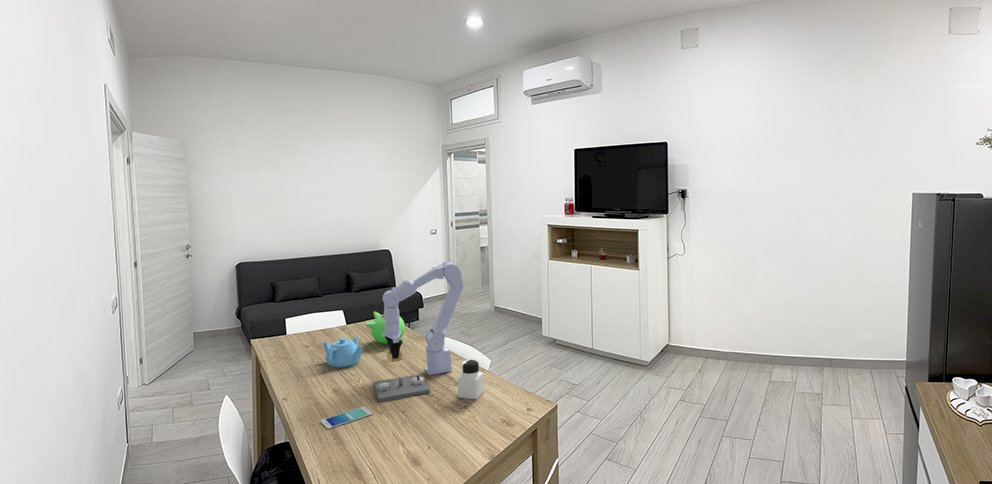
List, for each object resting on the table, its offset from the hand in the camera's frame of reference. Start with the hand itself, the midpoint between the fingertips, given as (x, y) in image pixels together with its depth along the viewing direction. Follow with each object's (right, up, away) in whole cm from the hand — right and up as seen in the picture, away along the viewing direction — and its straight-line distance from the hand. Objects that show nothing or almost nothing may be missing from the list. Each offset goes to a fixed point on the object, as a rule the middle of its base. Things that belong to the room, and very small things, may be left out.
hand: (394, 355), depth 190 cm
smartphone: (-8, -13, -33) cm, 36 cm away
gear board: (+5, -10, -11) cm, 15 cm away
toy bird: (-13, -4, +45) cm, 47 cm away
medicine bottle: (+31, -9, -19) cm, 37 cm away
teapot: (-25, -8, +19) cm, 33 cm away
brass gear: (0, -2, 0) cm, 2 cm away
